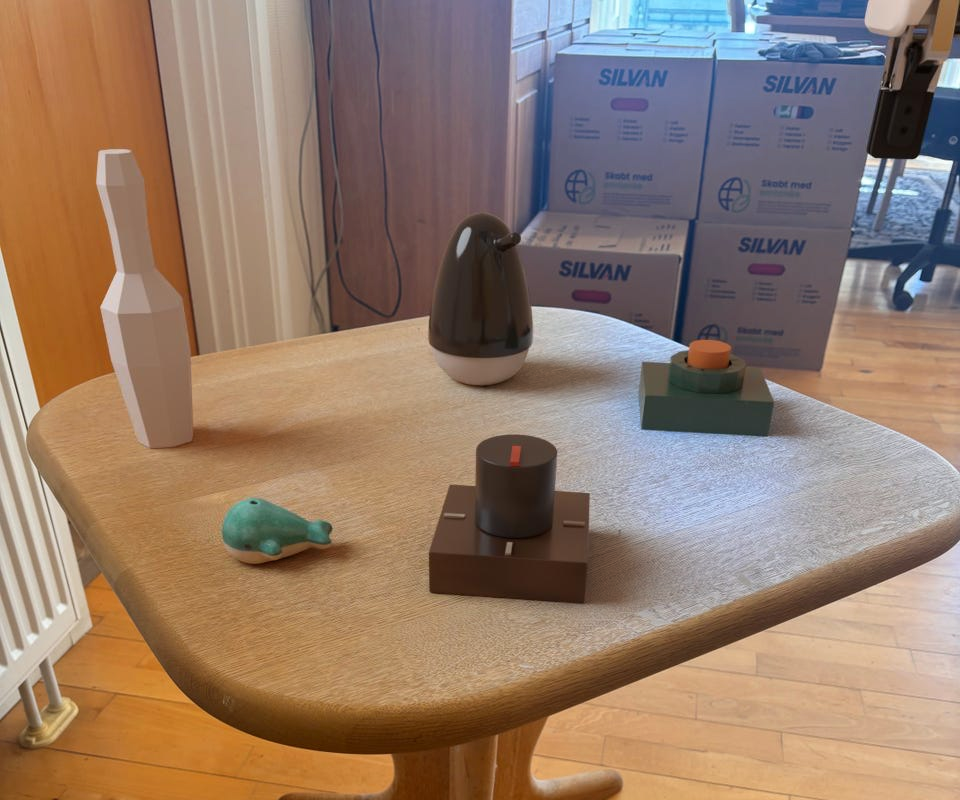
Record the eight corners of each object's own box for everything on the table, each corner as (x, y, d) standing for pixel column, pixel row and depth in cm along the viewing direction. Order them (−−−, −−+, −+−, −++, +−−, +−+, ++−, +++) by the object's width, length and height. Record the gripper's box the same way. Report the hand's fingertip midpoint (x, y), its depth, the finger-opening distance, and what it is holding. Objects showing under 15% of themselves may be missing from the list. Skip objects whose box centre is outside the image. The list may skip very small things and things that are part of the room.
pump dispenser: (469, 403, 90) (471, 230, 82) (409, 371, 97) (404, 209, 89) (553, 382, 95) (563, 217, 87) (490, 353, 102) (493, 197, 94)
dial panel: (586, 530, 70) (590, 490, 68) (584, 603, 62) (588, 560, 60) (449, 521, 71) (449, 481, 69) (429, 592, 63) (428, 549, 61)
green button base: (754, 400, 92) (764, 348, 89) (767, 437, 85) (778, 381, 82) (638, 394, 93) (644, 342, 90) (641, 430, 86) (647, 374, 83)
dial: (478, 500, 67) (479, 427, 64) (553, 504, 67) (558, 431, 64) (471, 536, 63) (472, 460, 60) (551, 540, 62) (556, 464, 59)
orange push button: (725, 359, 88) (728, 340, 87) (730, 373, 85) (733, 353, 84) (685, 357, 88) (688, 338, 87) (688, 371, 85) (691, 351, 84)
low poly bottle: (136, 457, 79) (76, 160, 67) (120, 430, 84) (61, 147, 71) (213, 443, 82) (169, 155, 69) (193, 418, 86) (149, 143, 74)
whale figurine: (232, 531, 69) (225, 483, 67) (336, 530, 69) (332, 482, 67) (218, 573, 64) (210, 522, 62) (330, 572, 65) (326, 521, 62)
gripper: (876, -175, 63) (816, 140, 73) (942, -211, 51) (858, 173, 61) (995, -174, 62) (918, 143, 73) (1091, -211, 50) (981, 177, 61)
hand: (891, 156), depth 67 cm, fingers closed
